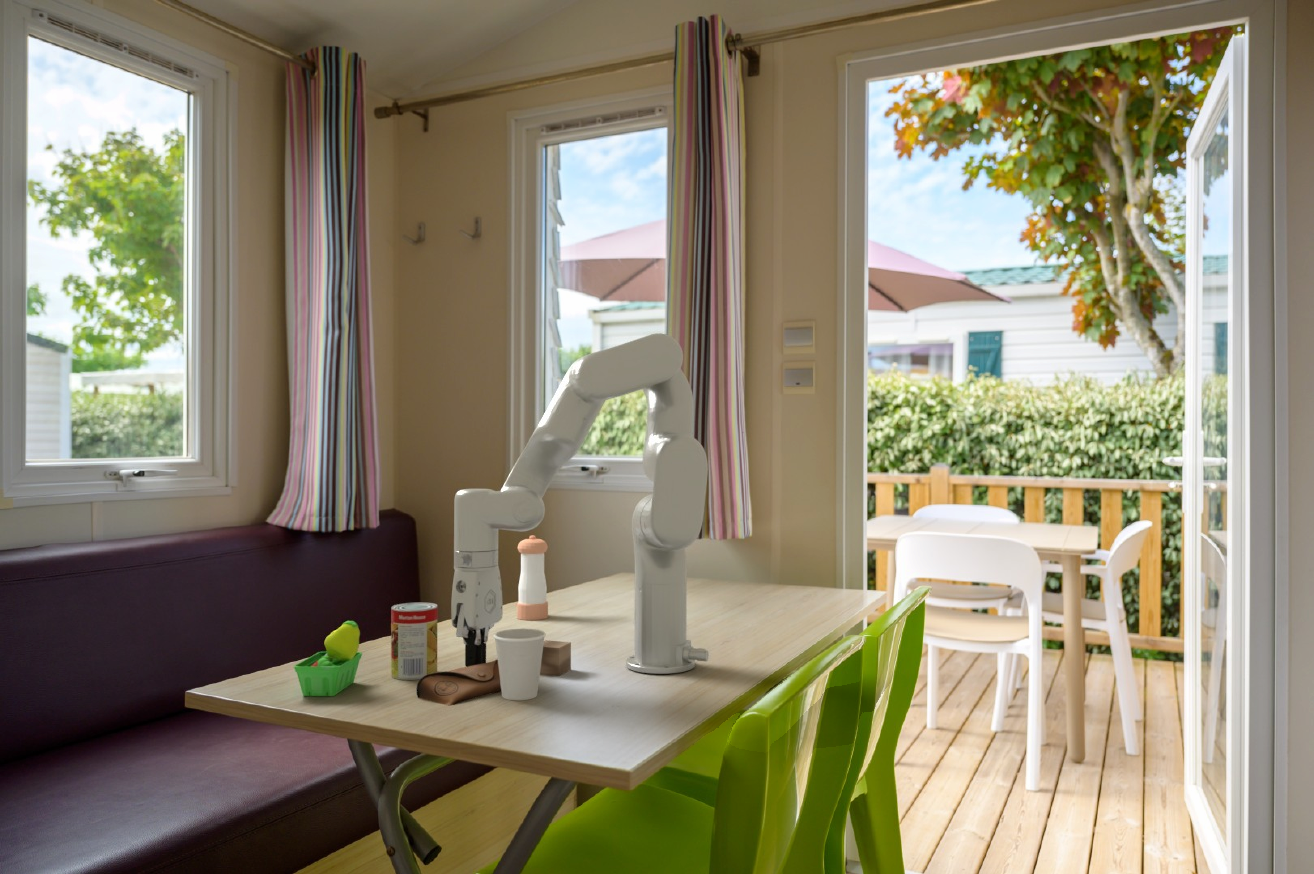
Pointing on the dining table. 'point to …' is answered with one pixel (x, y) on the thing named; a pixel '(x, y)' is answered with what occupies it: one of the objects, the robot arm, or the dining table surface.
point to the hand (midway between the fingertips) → (475, 666)
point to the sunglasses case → (460, 684)
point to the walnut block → (555, 658)
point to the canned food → (413, 640)
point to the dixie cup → (519, 662)
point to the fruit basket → (331, 663)
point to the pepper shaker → (532, 580)
